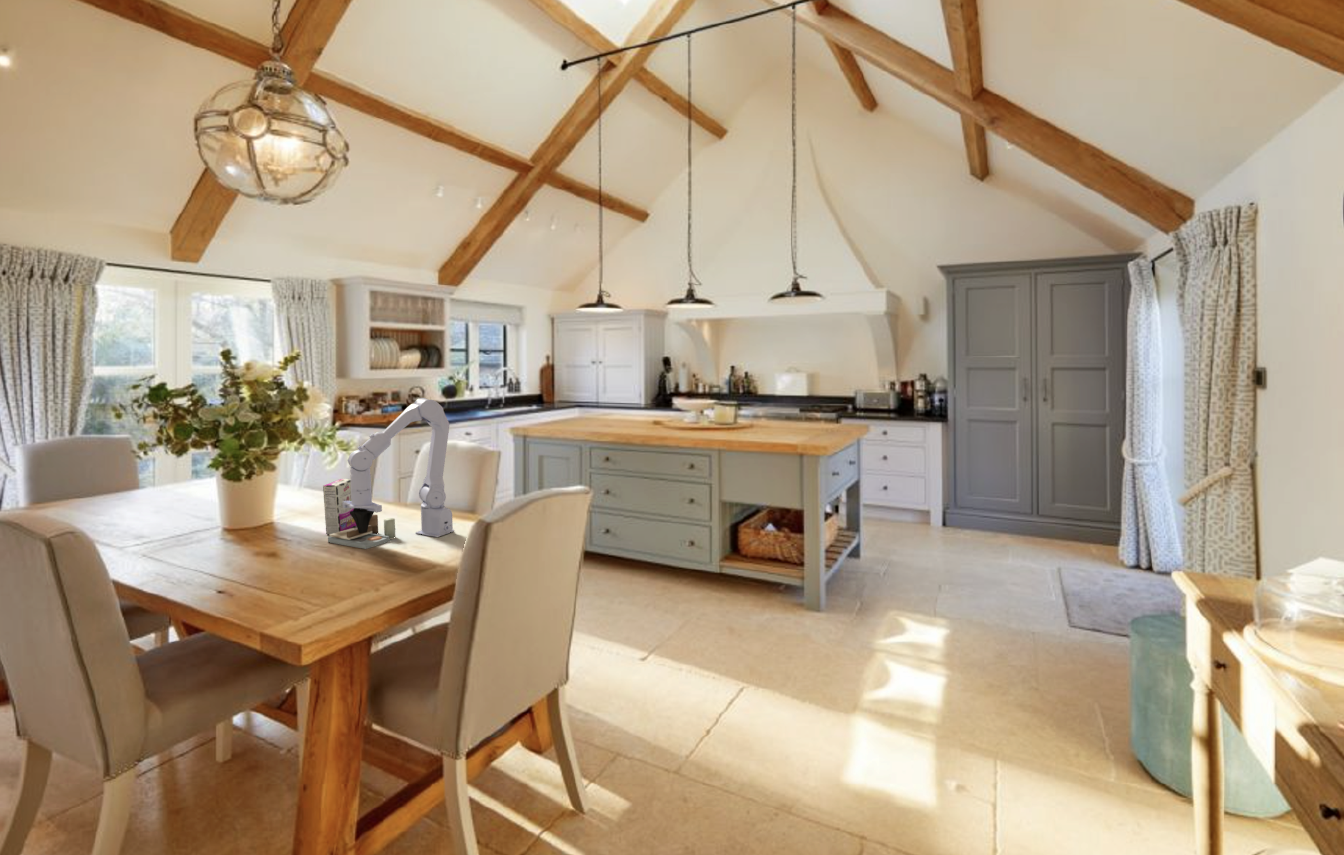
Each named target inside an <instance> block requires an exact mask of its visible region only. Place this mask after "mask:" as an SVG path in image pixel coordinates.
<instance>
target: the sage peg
mask: <svg viewBox="0 0 1344 855" xmlns="http://www.w3.org/2000/svg"><path fill="white" fill-rule="evenodd" d="M383 530H384V532H383V535H384V536H389V540H391V539H390V538H393V539H395V538H396V519H395V518H393V517H387V518H384V519H383ZM394 537H395V538H394Z"/></svg>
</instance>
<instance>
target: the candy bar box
mask: <svg viewBox="0 0 1344 855" xmlns="http://www.w3.org/2000/svg"><path fill="white" fill-rule="evenodd" d="M322 488H323V490H322V491H323V503H324V504H323V505H324V506H323V507H324V520H325V533H326V534H325V535H327V534H333V533H337V532H340V531H344V530H347V529H351V528H356V527H357V526H356V523H355V521H354V519H353V517H352V516H351V515H350V511H353V510H354V509H353V508H343V505H342V502H343V501H351V480H350V478H340V479H337V480H335V481H332V482H329V483H327V484H324V485H322Z"/></svg>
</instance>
